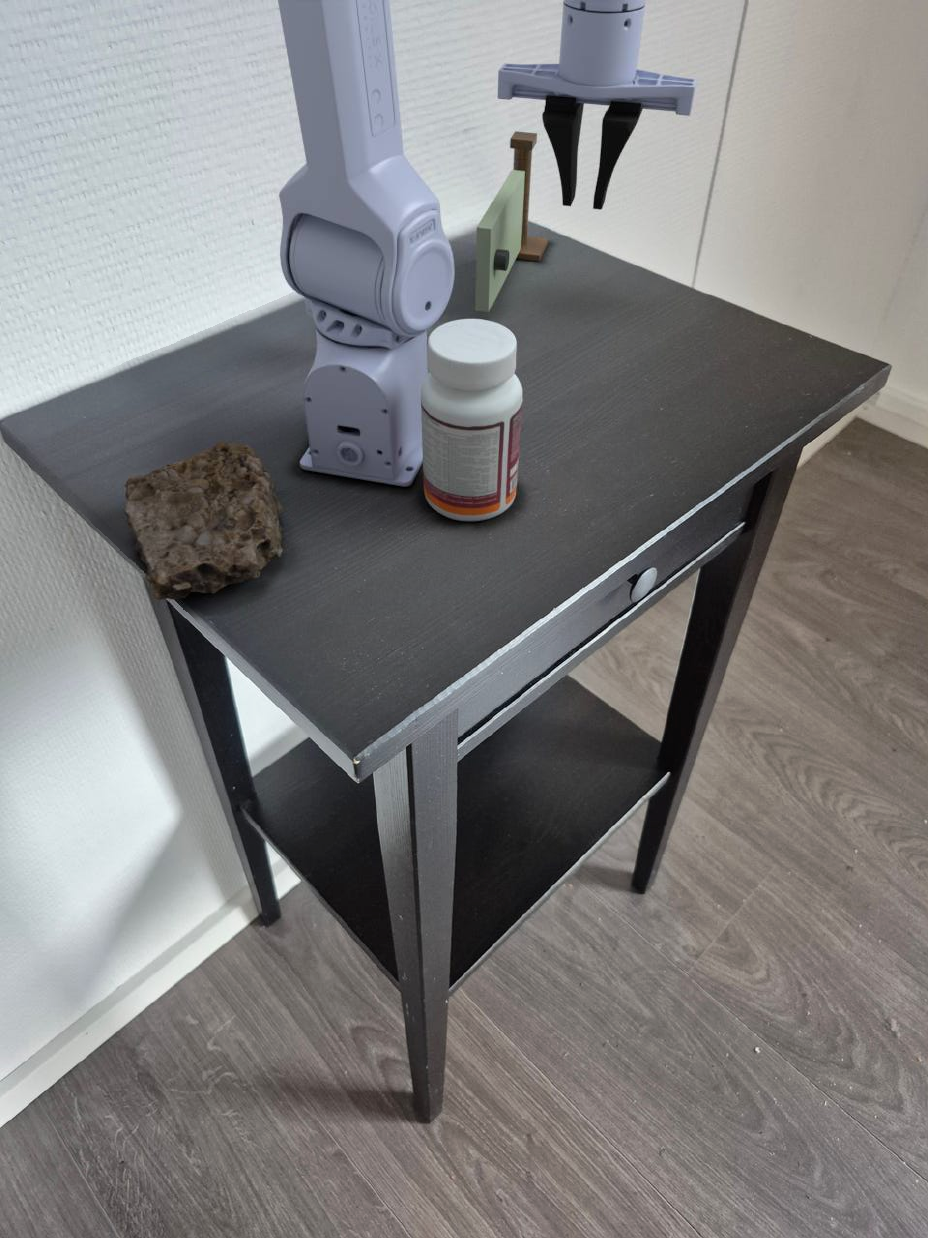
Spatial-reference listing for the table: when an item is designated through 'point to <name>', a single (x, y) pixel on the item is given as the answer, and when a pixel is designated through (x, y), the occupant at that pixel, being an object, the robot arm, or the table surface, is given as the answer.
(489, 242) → the door
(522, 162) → the wooden stand
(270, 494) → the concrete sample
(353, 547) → the table surface
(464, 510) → the pill bottle
